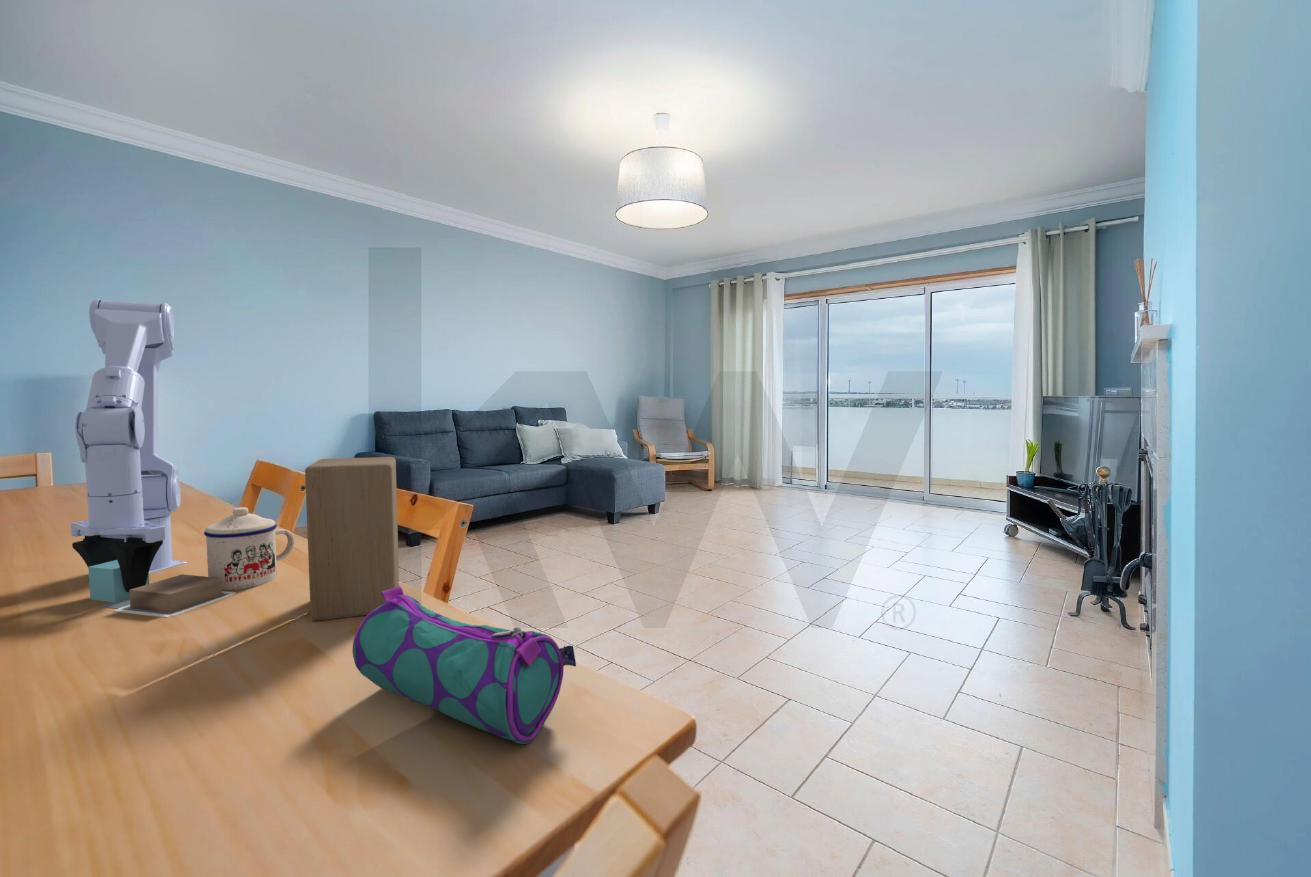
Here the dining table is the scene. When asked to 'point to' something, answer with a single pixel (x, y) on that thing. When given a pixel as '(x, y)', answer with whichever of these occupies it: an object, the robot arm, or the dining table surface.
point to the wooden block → (351, 535)
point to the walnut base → (175, 593)
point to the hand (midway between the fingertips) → (121, 588)
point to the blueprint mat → (125, 607)
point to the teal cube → (107, 582)
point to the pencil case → (462, 666)
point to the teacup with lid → (244, 550)
